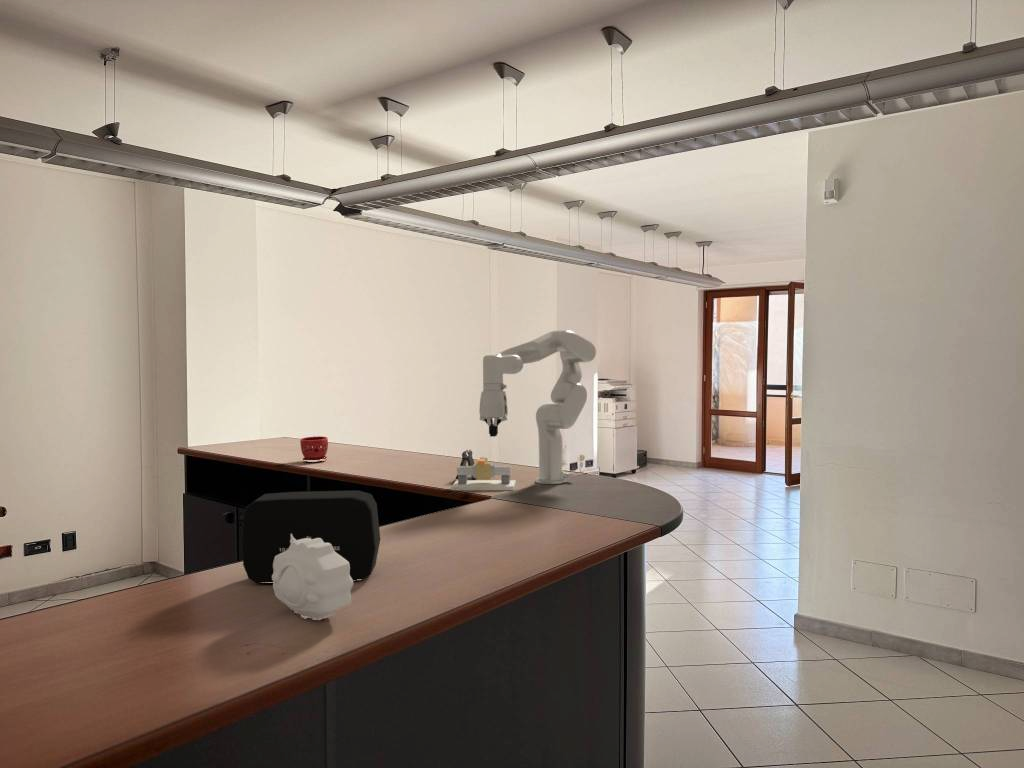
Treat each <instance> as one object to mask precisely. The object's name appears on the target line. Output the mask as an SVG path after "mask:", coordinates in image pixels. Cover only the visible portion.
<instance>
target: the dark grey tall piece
mask: <svg viewBox="0 0 1024 768" xmlns="http://www.w3.org/2000/svg"><path fill="white" fill-rule="evenodd" d="M474 464H476V462H475V461H474V458H473V451H472V449H469V450H468V449H467V450H465V451H463V452H462V453H461V461H460V465H459V466H473V465H474ZM458 476H459V475H457V474H456V476H455V479H458ZM467 480H476V478H473V475H470V476H467Z"/></svg>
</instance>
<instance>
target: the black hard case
mask: <svg viewBox="0 0 1024 768" xmlns="http://www.w3.org/2000/svg"><path fill="white" fill-rule="evenodd" d="M242 517H243V518H242V520H243V521H242V566H243V568H244V570H245V572H246V575H247V578H248V579H249V580H251V581H252V582H254V583H255V582H273V580H272V575H273V572H274V570H273V562H274V558H275V556H276V555H278V554H280V553H283V552H285V551H287V550H288V549H289V547H290V544H291V543H290V540H291V536H290V535H291V534H292V535H293V537H294V538H295V539H296V540H300V539H304V538H311V539H315V538H321V539H322V540H323V542H324V543H330V544H331V545H332V547H333V549H334V551H335V552H336V553H337V554H339V555H340V556H342V557H343V558H344V559H346V560H347V561H348V562H349V565H350V572H349V574H350V576H351V578H352V580H357V579H364V580H365V579H366V578H369V577H370V576H371V575H372V573H373V571H374V569H375V567H376V565H377V560H378V554H379V549H380V544H381V533H380V523H379V514H378V504H377V502H376V499H375V498H374V497H373V495H372V493H369V492H364V491H362V490H355V489H354V490H324V491H323V490H318V491H317V490H315V491H287V492H274V493H271V492H270V493H264V494H263V495H261V496H260V497H257V498H256V499H255V500H254V501H252V502H251V503H250V504H248V505H247V506H245V510H244V513H243V516H242Z"/></svg>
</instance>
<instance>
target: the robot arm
mask: <svg viewBox="0 0 1024 768" xmlns="http://www.w3.org/2000/svg"><path fill="white" fill-rule="evenodd" d="M556 353H559V356H560V360H561V363H562V369H561V370H562V371H561V373H560V375H559V377H558V378H557V379H558V380H557V381H556V383H555V384H554V386H553V388H552V389H551V392H550V400H551V402H552V403H545V404H542V405H540V406H539V407H538V408H537V409H536V413H535V420H536V426H537V431H538V432H537V435H538V477H537V478H535V483H537V484H541V485H559V484H566V483H567V478H570V479H571V478H573V479H574V477H575V475H574V474H575V473H574V472H566V471H564V469H563V437H562V432H561V430H568V429H571V428H572V427H573V426H574V425H575V423H576V422H577V420H578V418H579V416H580V415H581V412H582V411H583V409H584V406H585V405H586V403H587V400H588V392H587V389H586V387H585V386H584V385H583V384H581V383H580V382H581V381H582V376H583V375H582V370H581V369H582V368H581V367H580V363H590V362H591V361H593V360H594V359H595V358H596V355H597V349H596V346H595V345H594V344H593V343H592V341H590V340H588V339H586V338H585V337H583V336H581V335H580V334H578V333H576V332H574V331H572V330H568V329H567V330H566V329H564V330H552V331H549V332H546V333H545V334H542V335H541V336H539V337H536V338H535V339H532V340H530V341H528V342H525V343H522V344H519V345H516V346H513V347H510V348H507V349H505V350H503V351H501V352H499V353H496V354H489V355H484V356H483V359H482V391H481V394H480V398H479V399H480V400H479V421H482V422H484V423H486V424H487V426H488V434H489V437H493V438H495V437H497V436H498V433H499V430H498V429H499V427H498V426H499V425H500V424H501V423H502V422H506V421H508V415H509V414H508V413H509V410H508V400H507V399H508V398H507V393H506V390H505V391H504V389H507V385H506V384H504V375H515V374H518V373H520V372H521V371H522V370H523V368H524V364H533V363H536V362H537V363H538V362H540V361H542V360H544V359H546V358H548V357H550V356H552V355H554V354H556ZM493 418H494V419H493ZM560 429H561V430H560Z"/></svg>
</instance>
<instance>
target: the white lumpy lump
mask: <svg viewBox="0 0 1024 768" xmlns="http://www.w3.org/2000/svg"><path fill="white" fill-rule="evenodd" d="M290 536H291V540H290V543H291V544H290V547H289V549H288V550H287V551H285V552H283V553H280V554H278V555H276V556H275V558H274V562H273V570H274V572H273V575H272V580H273V582H274V583H273V584H272V588H273V592H274V596H275V597H276V598H277V599H278V600H279V601H281V602H282V603H283V605H286V606H287V607H288V608H289V609H290V610H291V611H292V610H293V611H295V612H297V613H298V614H297V615H299V614H300V615H303V616H308V617H311V618H316V619H319V618H323V617H325V616H328V615H331V614H333V613H334V614H335V613H336V612H337V610H339V609H341V608H344V607H346V606H349V605H350V604H351V602H352V596H351V594H352V593H351V590H352V588H353V586H354V581H353V580H352V578H351V576H350V574H349V572H350V565H349V562H348V561H347V560H346V559H344V558H343V557H342V556H340V555H339V554H337V553H336V552H335V551H334V549H333V547H332V545H331V544H330V543H324V542H323V540H322V539H321V538H315V539H311V538H304V539H300V540H296V539H295V538H294V537H293V535H292V534H291V535H290ZM293 611H292V612H293ZM334 614H333V615H334ZM300 615H299V616H300ZM311 618H310V619H311Z"/></svg>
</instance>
